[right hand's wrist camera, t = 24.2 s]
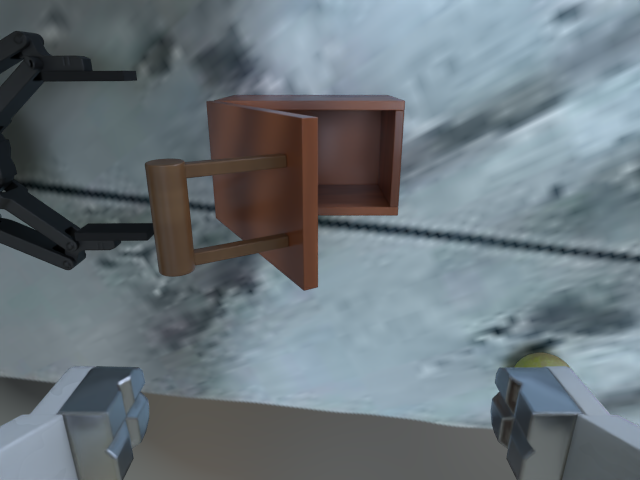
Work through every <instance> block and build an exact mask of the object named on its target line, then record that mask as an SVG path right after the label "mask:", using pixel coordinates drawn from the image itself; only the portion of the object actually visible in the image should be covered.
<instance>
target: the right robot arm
mask: <svg viewBox="0 0 640 480" xmlns="http://www.w3.org/2000/svg"><path fill="white" fill-rule="evenodd" d="M144 384H145V379H144V374H143V370H141V369H140V368H139V367H105V366H96V367H94V366H74V367H72V368H69V369H68V370H67V371H66V372H65V374H64V375H63V376H62V377H61V378H60V379H59V381H58V382H57V383H56V384H55V385H54V387H53V388H52V389H51V390H50V391H49V392H48V394H47V395H46V396H45V397H44V398H43V399H42V401H41V402H40V403H39V404H38V405H37V406H36V408H35V409H34V410H33V411H32V412H31V413H30V415H21V416H19V417H17V418H15V419H13V420H11V421H9V422H7V423H6V424H4V425H2V426H0V480H123V479H124V477H125V475H126V473H127V471H128V469H129V467H130V464H131V462H132V460H133V453H132V449H133V448H134V447H135V446H137V445H138V444H139V443H141V442H142V440H143V437H144V435H145V433H146V429H147V425H148V421H149V404H148V399H147V398H146V397H145V396H144V395H143V394H142V393H141V392H140V391H141V389H142V388H143V386H144ZM495 384H496V386H497V388H498V389H499V391H500V392H499V393H498V394H497V395H496V396H495V397H494V398H493V399H492V405H491V420H492V426H493V430H494V433H495V435H496V437H497V440H498V442H499V443H501V444H502V445H503V446H505V447H506V448H507V449H508V453H507V460H508V462H509V465H510V467H511V469H512V471H513V473H514V475H515V477H516V479H517V480H640V426H638V425H636V424H634V423H632V422H631V421H629V420H627V419H625V418H623V417H621V416H619V415H610V413H609V412H608V411H607V410H606V409H605V408H604V406H603V405H602V404H601V403H600V402H599V401H598V399H597V398H596V397H595V396H594V395H593V394H592V392H591V391H590V390H589V389H588V388H587V387H586V385H585V384H584V383H583V382H582V381H581V380H580V378H579V377H578V376H577V375H576V374H575V372H574V371H573V370H572V369H571V368H569V367H567V366H549V367H523V368H499V369H498V371H497V373H496V379H495Z"/></svg>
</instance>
